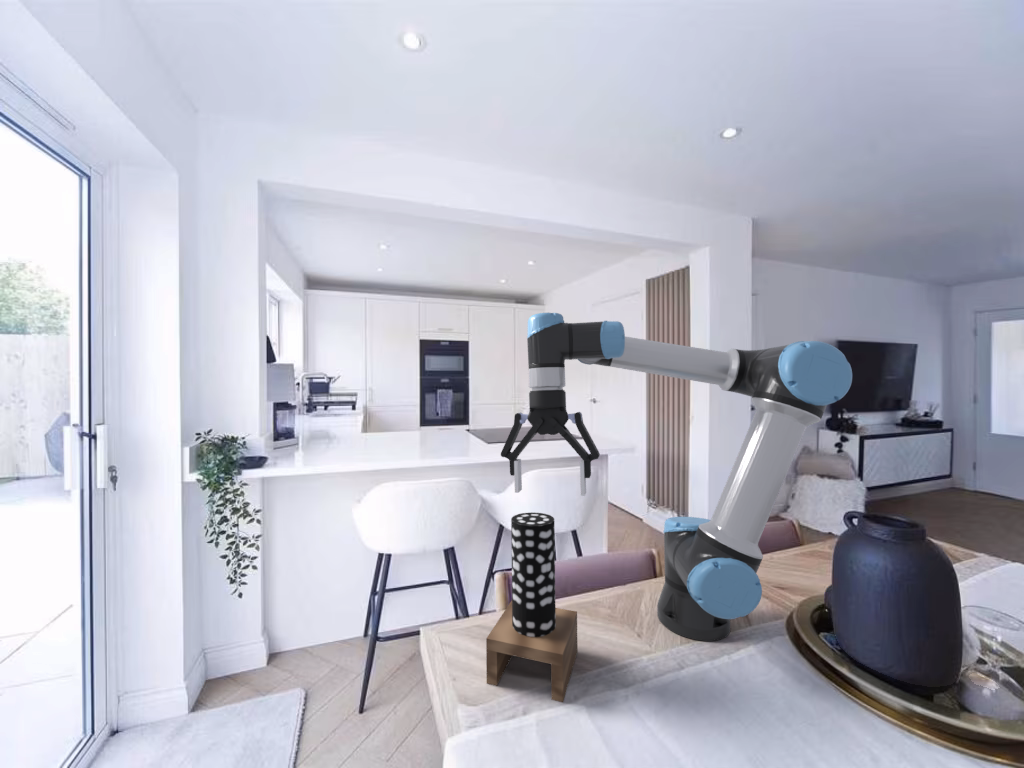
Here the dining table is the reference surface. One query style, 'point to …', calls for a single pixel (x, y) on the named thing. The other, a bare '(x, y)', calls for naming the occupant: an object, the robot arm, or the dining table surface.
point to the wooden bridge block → (534, 649)
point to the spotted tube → (533, 574)
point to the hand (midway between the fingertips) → (550, 492)
